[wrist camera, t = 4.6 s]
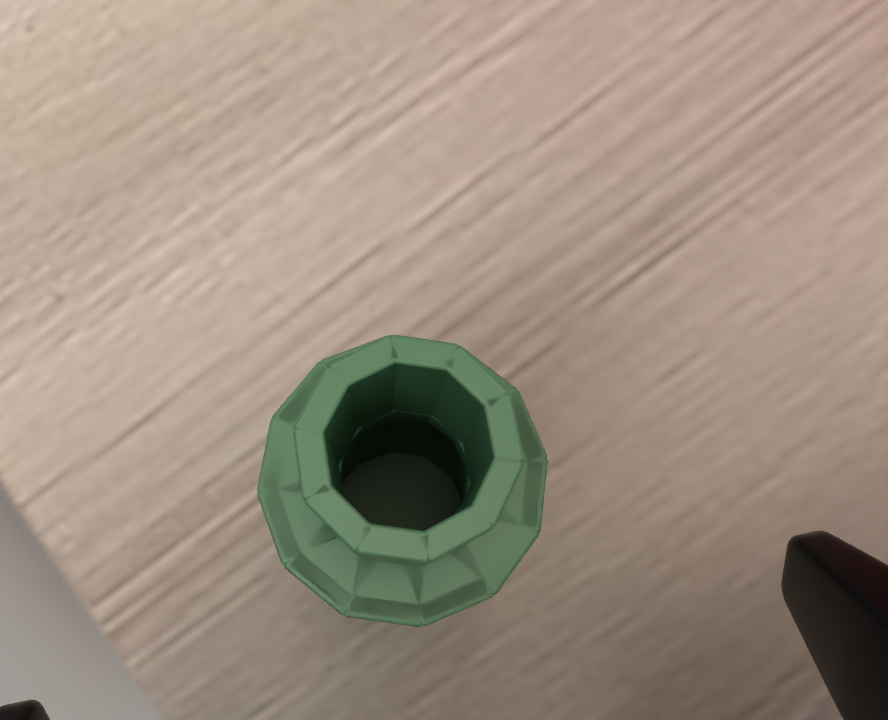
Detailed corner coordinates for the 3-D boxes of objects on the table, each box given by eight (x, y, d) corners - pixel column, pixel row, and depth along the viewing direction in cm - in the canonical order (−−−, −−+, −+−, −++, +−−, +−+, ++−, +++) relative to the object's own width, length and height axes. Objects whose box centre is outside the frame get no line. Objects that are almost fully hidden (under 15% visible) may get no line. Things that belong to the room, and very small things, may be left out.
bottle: (464, 612, 19) (571, 662, 8) (306, 590, 19) (187, 608, 8) (484, 454, 20) (605, 299, 9) (333, 432, 20) (261, 247, 9)
